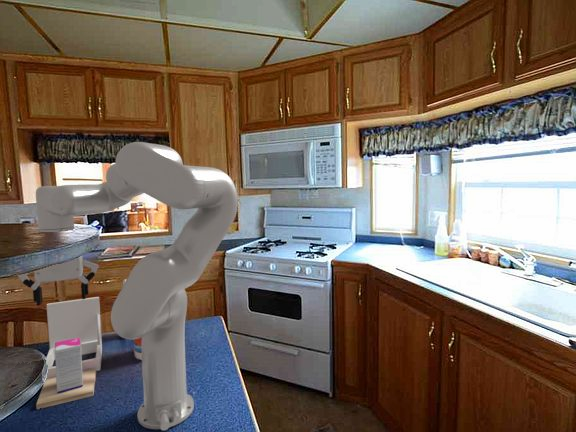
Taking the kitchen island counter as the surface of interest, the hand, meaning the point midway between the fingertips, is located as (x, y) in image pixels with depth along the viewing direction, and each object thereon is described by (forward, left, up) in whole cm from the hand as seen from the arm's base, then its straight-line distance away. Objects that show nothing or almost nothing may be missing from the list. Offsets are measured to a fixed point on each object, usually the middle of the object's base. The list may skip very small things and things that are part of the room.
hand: (62, 300), depth 89 cm
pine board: (0, 0, -24) cm, 24 cm away
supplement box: (0, 0, -23) cm, 23 cm away
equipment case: (+14, 0, -24) cm, 28 cm away
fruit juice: (+11, -21, -24) cm, 34 cm away
